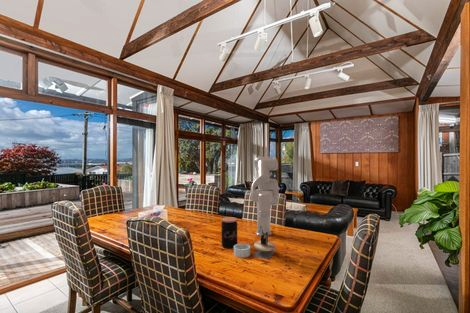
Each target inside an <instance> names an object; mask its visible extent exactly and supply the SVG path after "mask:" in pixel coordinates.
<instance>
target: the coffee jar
mask: <svg viewBox="0 0 470 313" xmlns="http://www.w3.org/2000/svg"><path fill="white" fill-rule="evenodd" d="M236 244H238V218H237V217H233V216H228V217H227V216H226V217H223V218H221V246H222V248H225V249H234V245H236Z"/></svg>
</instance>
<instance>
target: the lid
mask: <svg viewBox="0 0 470 313" xmlns="http://www.w3.org/2000/svg"><path fill="white" fill-rule="evenodd" d="M263 235H264V234H263ZM265 238H266V244H261V240H259V241H256V242H254V244H253V247H254V249H256V250H257V251H259V250H260V251H271V250H274V251H275V249H276V243H274V242H272V241H270V240H269V236H268V235H266V234H265Z"/></svg>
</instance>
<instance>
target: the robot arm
mask: <svg viewBox="0 0 470 313" xmlns="http://www.w3.org/2000/svg"><path fill="white" fill-rule="evenodd" d="M253 164H254V167H255V171H256V173H257V175H256V176H257V177H256V178H255V179H254V180H253V182H252V183H251V186H250V200H251V201H252V202H253V203H256V209H257V210H256V211H257V212H256V216H257V217H256V223H257V224H256V225H257V227H256V228H257V229H256V231H255V235H257V236H260V241H261V244H266V238H265V234H266V235H268V237H269V236H271V235H272V231H271V230H270V229H271V218H270V217H271V206H278V205H279V198H280V197H279V196H280V195H279V194H280V193H279V183H278V180H277V179H274V178H271V176H270V173H271V171H278V169H279V163H278V159H277V157H276V156H257V157H255V158H254V159H253ZM256 188H257V189H258V190H256ZM263 234H264V235H263Z"/></svg>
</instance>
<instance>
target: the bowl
mask: <svg viewBox="0 0 470 313" xmlns="http://www.w3.org/2000/svg"><path fill="white" fill-rule="evenodd" d="M233 256H234V257H236V258H248V257H250V256H251V245H250V244H247V243H237V244H236V245H234V247H233Z"/></svg>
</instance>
